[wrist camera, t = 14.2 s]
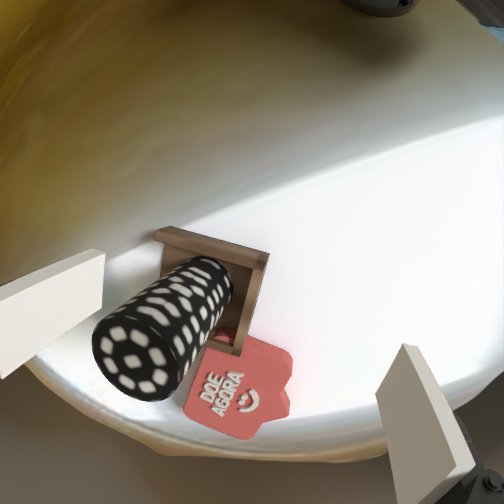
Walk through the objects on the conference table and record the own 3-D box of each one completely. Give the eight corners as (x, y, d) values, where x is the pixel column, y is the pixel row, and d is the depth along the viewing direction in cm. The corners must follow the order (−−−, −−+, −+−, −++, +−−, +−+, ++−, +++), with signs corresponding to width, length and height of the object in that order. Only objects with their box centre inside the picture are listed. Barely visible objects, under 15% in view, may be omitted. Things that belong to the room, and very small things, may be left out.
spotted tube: (189, 320, 43) (121, 404, 24) (166, 266, 42) (76, 325, 23) (242, 304, 42) (197, 396, 22) (219, 247, 40) (150, 303, 21)
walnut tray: (170, 226, 41) (155, 230, 37) (269, 253, 40) (266, 261, 36) (156, 312, 45) (143, 324, 40) (245, 341, 43) (239, 357, 39)
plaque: (264, 450, 43) (179, 417, 44) (267, 435, 46) (186, 403, 47) (315, 374, 38) (211, 333, 39) (315, 360, 42) (218, 321, 43)
